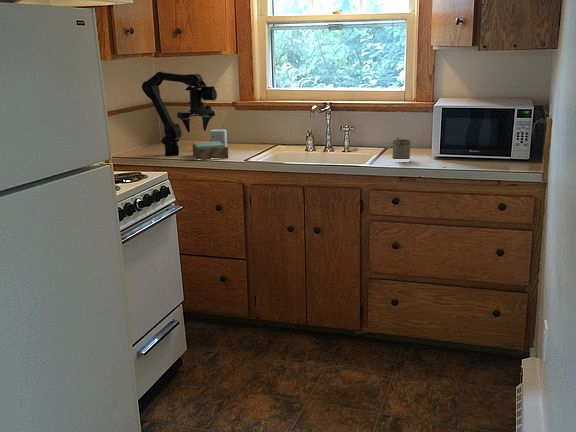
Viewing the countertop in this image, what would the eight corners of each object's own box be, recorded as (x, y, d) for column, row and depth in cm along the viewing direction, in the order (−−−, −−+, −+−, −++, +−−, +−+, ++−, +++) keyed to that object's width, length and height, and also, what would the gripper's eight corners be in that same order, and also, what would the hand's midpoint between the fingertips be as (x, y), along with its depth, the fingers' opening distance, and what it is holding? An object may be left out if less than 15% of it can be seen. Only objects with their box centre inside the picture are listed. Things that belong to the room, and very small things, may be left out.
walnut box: (198, 160, 305) (197, 149, 304) (193, 155, 320) (192, 144, 318) (228, 158, 309) (227, 147, 308) (222, 153, 324) (221, 142, 323)
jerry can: (394, 158, 304) (395, 133, 301) (414, 160, 300) (415, 134, 296) (384, 163, 292) (385, 138, 288) (404, 165, 287) (405, 139, 284)
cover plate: (198, 149, 305) (197, 146, 305) (194, 145, 317) (193, 142, 317) (224, 148, 309) (224, 145, 309) (219, 144, 321) (219, 141, 321)
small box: (227, 149, 337) (226, 129, 334) (225, 150, 331) (224, 130, 328) (212, 148, 337) (211, 129, 335) (210, 150, 332) (209, 130, 329)
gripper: (187, 102, 297) (188, 135, 301) (220, 100, 308) (221, 131, 313) (175, 100, 305) (177, 132, 310) (208, 98, 317) (209, 129, 321)
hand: (196, 131), depth 313 cm, fingers open, 9 cm apart
